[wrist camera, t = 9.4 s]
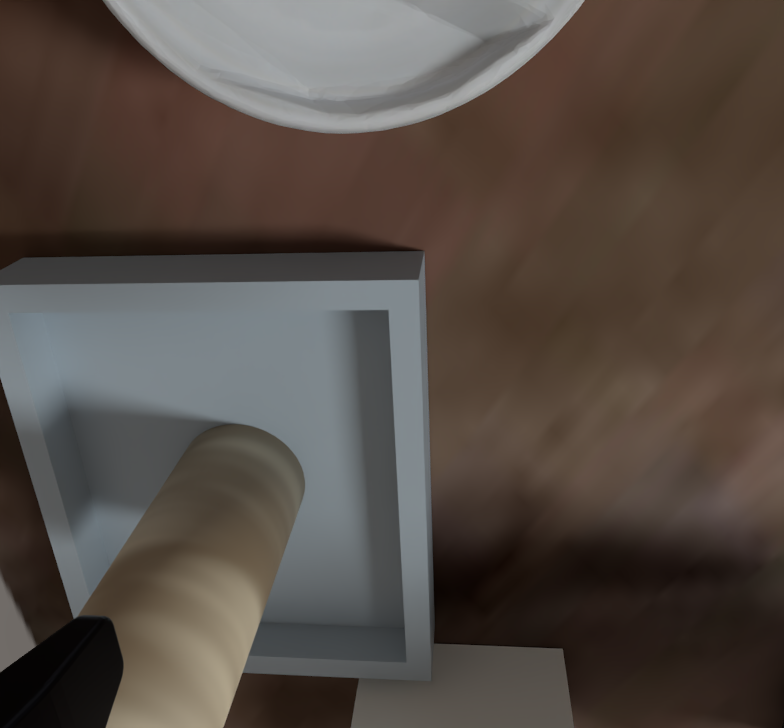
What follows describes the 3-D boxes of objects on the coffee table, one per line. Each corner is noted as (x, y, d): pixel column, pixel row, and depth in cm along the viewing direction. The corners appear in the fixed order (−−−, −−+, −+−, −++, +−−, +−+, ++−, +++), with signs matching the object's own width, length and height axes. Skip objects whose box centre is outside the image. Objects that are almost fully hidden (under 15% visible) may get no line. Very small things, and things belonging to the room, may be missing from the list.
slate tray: (424, 251, 21) (418, 279, 18) (434, 625, 27) (431, 681, 24) (23, 257, 22) (-28, 285, 20) (118, 613, 28) (88, 665, 26)
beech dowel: (298, 425, 22) (160, 753, 12) (310, 530, 24) (198, 892, 14) (172, 423, 23) (-58, 739, 13) (192, 527, 24) (3, 876, 15)
